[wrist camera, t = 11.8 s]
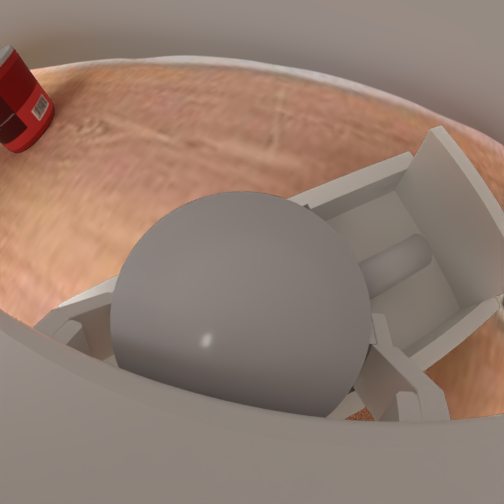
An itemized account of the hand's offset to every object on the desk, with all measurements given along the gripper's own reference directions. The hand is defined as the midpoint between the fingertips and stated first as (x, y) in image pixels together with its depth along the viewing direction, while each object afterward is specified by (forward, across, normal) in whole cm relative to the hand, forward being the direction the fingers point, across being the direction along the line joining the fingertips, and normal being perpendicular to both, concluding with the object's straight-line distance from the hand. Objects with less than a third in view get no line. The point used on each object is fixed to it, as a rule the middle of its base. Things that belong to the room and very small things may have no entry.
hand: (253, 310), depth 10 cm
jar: (+3, 0, +4) cm, 5 cm away
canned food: (+15, +30, -6) cm, 34 cm away
